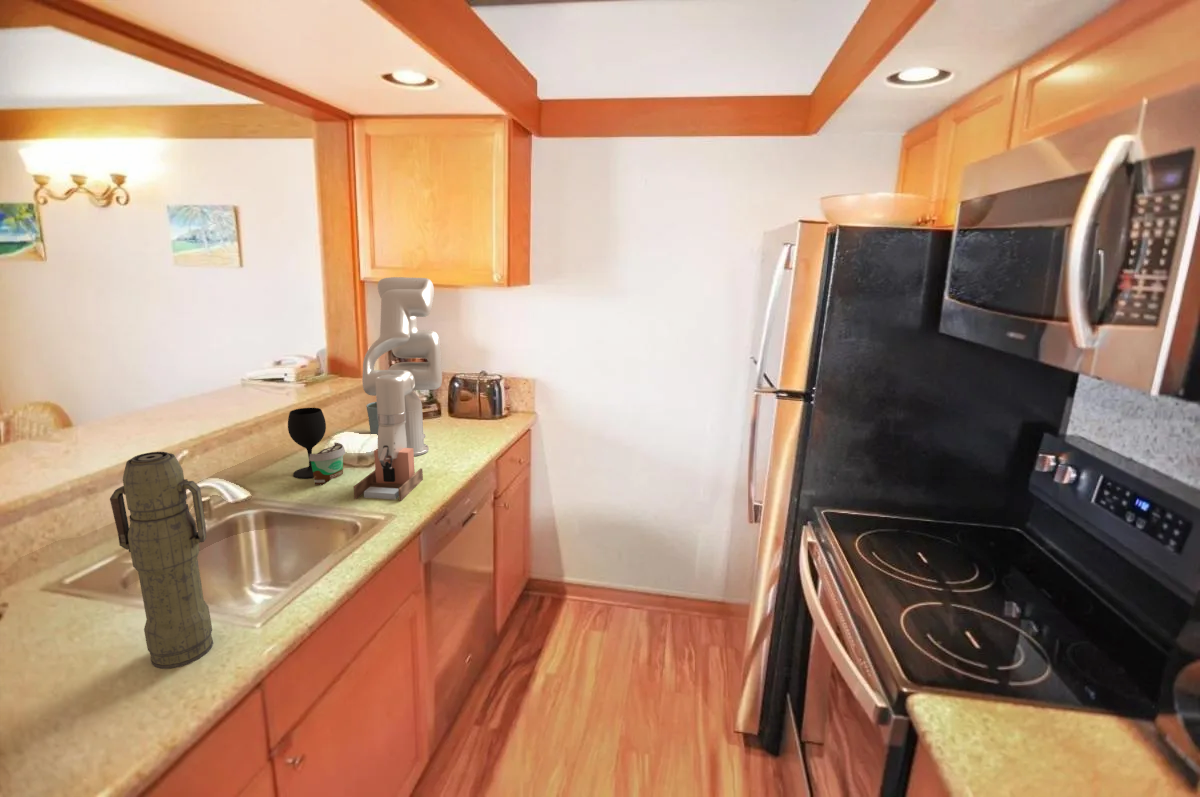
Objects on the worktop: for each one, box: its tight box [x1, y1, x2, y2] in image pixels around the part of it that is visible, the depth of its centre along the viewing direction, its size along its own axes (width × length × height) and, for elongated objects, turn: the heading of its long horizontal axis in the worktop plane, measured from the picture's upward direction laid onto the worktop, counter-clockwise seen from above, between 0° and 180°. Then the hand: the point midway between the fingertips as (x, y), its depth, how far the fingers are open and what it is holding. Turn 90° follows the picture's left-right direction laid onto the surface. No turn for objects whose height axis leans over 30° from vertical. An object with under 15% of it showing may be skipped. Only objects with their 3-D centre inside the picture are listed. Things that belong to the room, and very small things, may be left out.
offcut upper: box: [363, 487, 399, 500], centre depth 160 cm, size 4×9×2 cm, turn 83°
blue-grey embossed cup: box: [366, 401, 379, 435], centre depth 219 cm, size 10×10×12 cm
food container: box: [308, 442, 346, 486], centre depth 173 cm, size 12×6×10 cm, turn 168°
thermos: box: [109, 451, 214, 670], centre depth 94 cm, size 9×12×35 cm
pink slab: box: [373, 448, 416, 484], centre depth 168 cm, size 4×10×12 cm, turn 86°
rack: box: [353, 468, 424, 502], centre depth 165 cm, size 16×13×5 cm
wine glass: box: [287, 407, 327, 480], centre depth 178 cm, size 10×10×20 cm
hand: (395, 475), depth 169 cm, fingers open, 7 cm apart
